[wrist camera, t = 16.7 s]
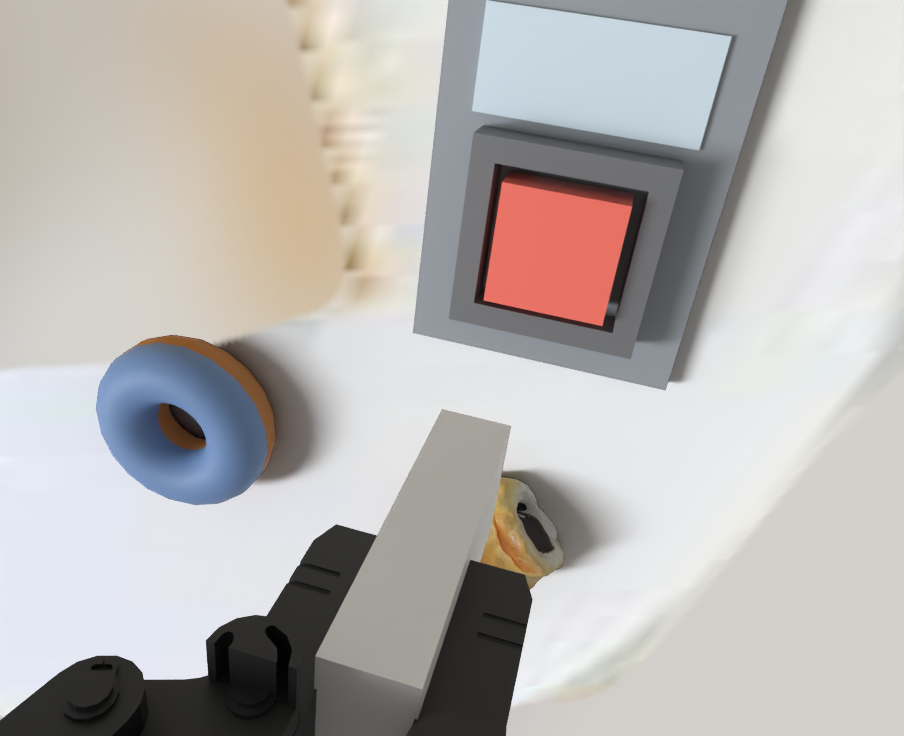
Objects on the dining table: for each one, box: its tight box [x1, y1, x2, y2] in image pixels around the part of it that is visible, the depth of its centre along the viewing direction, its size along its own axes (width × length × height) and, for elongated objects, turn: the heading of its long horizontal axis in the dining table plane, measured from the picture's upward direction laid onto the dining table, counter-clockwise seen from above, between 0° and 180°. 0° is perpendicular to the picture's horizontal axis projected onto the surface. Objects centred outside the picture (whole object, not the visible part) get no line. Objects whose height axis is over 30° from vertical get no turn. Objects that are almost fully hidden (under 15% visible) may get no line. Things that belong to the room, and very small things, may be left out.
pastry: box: [480, 477, 564, 590], centre depth 39 cm, size 9×7×4 cm
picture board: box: [413, 0, 788, 390], centre depth 26 cm, size 30×12×3 cm, turn 173°
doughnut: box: [96, 335, 275, 505], centre depth 39 cm, size 10×10×5 cm
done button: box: [484, 171, 634, 326], centre depth 29 cm, size 5×5×2 cm
